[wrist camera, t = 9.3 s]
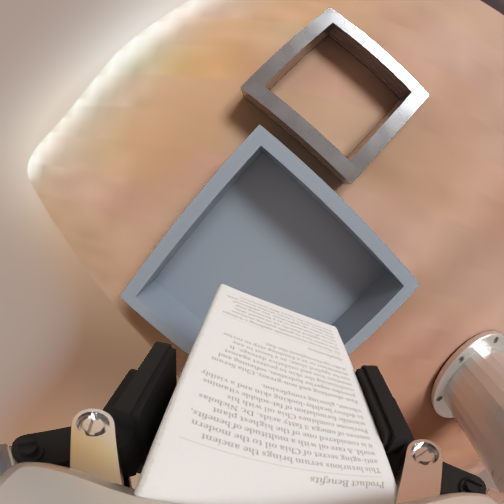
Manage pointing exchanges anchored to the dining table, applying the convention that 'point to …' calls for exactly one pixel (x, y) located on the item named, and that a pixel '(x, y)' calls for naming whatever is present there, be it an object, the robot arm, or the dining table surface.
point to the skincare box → (266, 416)
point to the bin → (270, 251)
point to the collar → (303, 131)
